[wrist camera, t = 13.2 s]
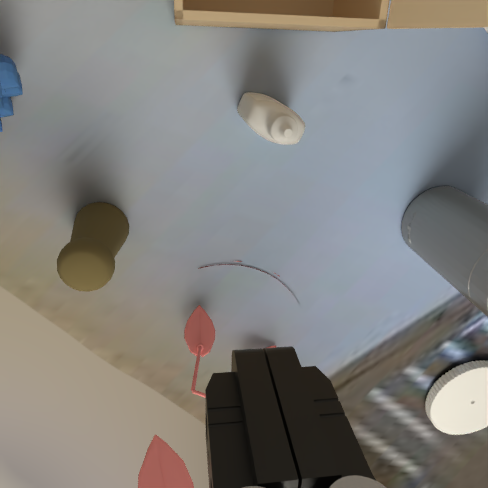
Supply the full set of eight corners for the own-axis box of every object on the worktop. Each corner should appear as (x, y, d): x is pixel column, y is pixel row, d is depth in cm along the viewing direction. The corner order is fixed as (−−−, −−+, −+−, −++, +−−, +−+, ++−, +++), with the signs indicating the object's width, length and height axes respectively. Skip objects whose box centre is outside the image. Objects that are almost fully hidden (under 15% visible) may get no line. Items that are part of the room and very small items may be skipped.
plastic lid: (521, 366, 69) (533, 377, 67) (473, 428, 74) (482, 440, 72) (452, 347, 65) (462, 358, 63) (406, 414, 70) (413, 426, 68)
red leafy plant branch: (277, 396, 64) (379, 732, 32) (129, 312, 55) (68, 670, 23) (349, 324, 61) (541, 621, 29) (203, 221, 51) (252, 495, 20)
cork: (90, 192, 47) (67, 231, 38) (139, 219, 50) (129, 264, 40) (64, 234, 49) (35, 283, 39) (112, 259, 51) (96, 311, 41)
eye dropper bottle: (264, 76, 45) (291, 87, 34) (293, 120, 47) (327, 143, 36) (231, 103, 46) (246, 122, 35) (261, 145, 48) (285, 175, 37)
